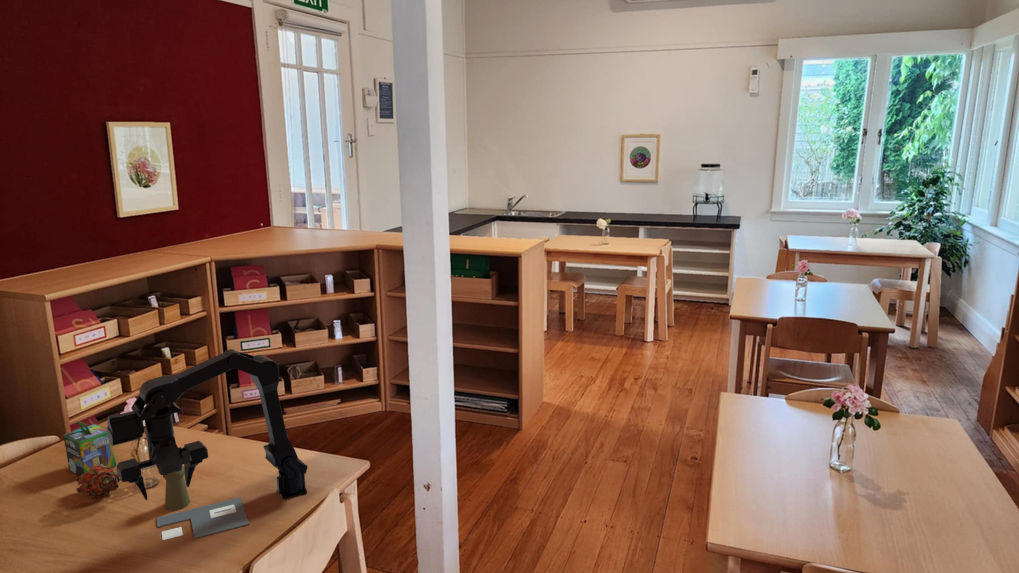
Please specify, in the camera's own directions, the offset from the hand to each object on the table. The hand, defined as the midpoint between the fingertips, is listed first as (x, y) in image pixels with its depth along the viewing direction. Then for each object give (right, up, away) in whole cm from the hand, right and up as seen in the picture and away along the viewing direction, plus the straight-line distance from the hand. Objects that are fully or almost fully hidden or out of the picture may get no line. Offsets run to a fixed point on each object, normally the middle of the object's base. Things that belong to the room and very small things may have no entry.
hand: (167, 492), depth 161 cm
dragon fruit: (-29, -7, +20) cm, 36 cm away
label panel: (+5, -10, +8) cm, 13 cm away
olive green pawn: (-5, -8, +15) cm, 18 cm away
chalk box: (-39, -3, +34) cm, 52 cm away
